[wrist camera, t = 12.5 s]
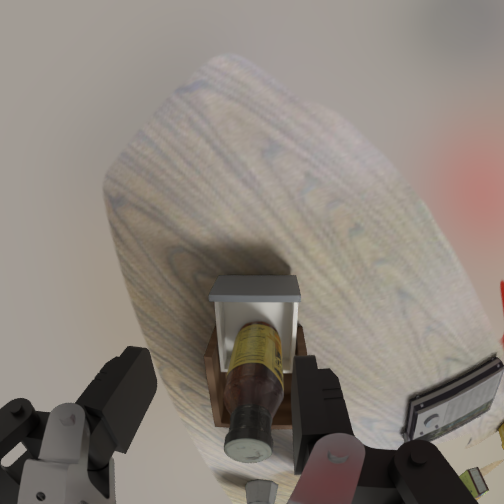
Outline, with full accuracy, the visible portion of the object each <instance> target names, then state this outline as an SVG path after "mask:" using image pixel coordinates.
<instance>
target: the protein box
mask: <svg viewBox="0 0 504 504" xmlns="http://www.w3.org/2000/svg"><path fill="white" fill-rule="evenodd" d="M459 478H460V479H461V480H462V482H463V483H464V484H465V486H466V487H467V488H468V490H469V491H470V492H471V494H472V495H473V497H474V498H475V499H476V500H477V499H479V498H480V497H481V496H483V495H484V494H485V493H486V492H488V491H489V489H488V487H487V485H486V483H485V481H484V479H483V476H482V474H481V472H480V470H479V468H478V467H476V468H472V469H469V470H466V471H465V472H464V473H463V474H461V475H460V476H459Z"/></svg>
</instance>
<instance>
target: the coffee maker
mask: <svg viewBox="0 0 504 504" xmlns="http://www.w3.org/2000/svg"><path fill="white" fill-rule="evenodd" d="M245 489H246V499H247V504H274V502H275V498H276V493H277V489H278V484H276V483H275V482H273V481H269V480H260V479H259V480H254V481H249V482H247V484H246V486H245Z"/></svg>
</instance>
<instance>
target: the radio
mask: <svg viewBox="0 0 504 504" xmlns="http://www.w3.org/2000/svg"><path fill="white" fill-rule="evenodd" d="M503 367H504V365H503V363H502V361H501V360H500V359H499V358H497V357H495V358H492V359H491V360H490V361H488V362H487V363H485V364H483V365H482V366H480V367H478V368H476V369H474V370H473V371H471V372H469V373H467V374H465V375H463V376H461V377H459V378H457V379H456V380H453V381H451V382H449V383H447V384H445V385H443V386H441V387H439V388H437V389H434V390H432V391H430V392H428V393H425V394H423V395H421V396H416V398H413V399H411V400H410V403H409V411H408V418H407V425H406V431H405V433H404V441H405V443H406V442H408V441H411V440H426V441H428V442H431V441H433V440H435V439H437V438H440V437H442V436H444V435H446V434H448V433H450V432H452V431H454V430H456V429H458V428H459V427H461V426H463V425H465V424H467V423H469V422H470V421H472V420H474V419H476V418H479V417H480V416H481V415H482V414H484V413H485V412H487V411H489V410H490V408H491V405H492V403H493V400H494V398H495V395H496V392H497V390H498V387H499V384H500V381H501V378H502V375H503V372H504V368H503Z"/></svg>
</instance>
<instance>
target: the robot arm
mask: <svg viewBox="0 0 504 504" xmlns="http://www.w3.org/2000/svg"><path fill="white" fill-rule="evenodd" d="M156 390H157V378H156V375H155V371H154V367H153V363H152V359H151V355H150V352H149V350H148V349H147V348H142V347H133V346H128V347H127V348H126V349H125V350H124V352H123V353H122V354H121V355H120V357H115V358H113V359H112V360H110V361H108V362H107V363H106V364H105V365H104V367H103V368H102V369H101V370H100V373H98V374H97V375H96V377H95V379H94V380H92V382H91V383H90V384H89V385H88V387H87V388H86V389H85V391H84V392H83V393H82V395H81V396H80V397H79V398H78V400H77V401H76V402H75V403H64V404H61V405H58V406H57V407H55V408H54V409H53V410H52V411H51V412H41V411H35V409H34V407H33V406H32V404H31V402H30V401H29V400H27V399H24V398H17V399H14V400H12V401H10V402H9V403H7V404H6V405H5V406H4V407H2V408H1V409H0V504H116V499H115V498H116V497H115V475H114V474H115V473H114V459H113V458H112V455H113V453H114V451H118V452H121V453H124V454H126V452H127V450H128V448H129V446H130V444H131V442H132V440H133V438H134V436H135V434H136V432H137V430H138V428H139V426H140V423H141V421H142V419H143V417H144V415H145V413H146V411H147V409H148V407H149V405H150V403H151V401H152V399H153V397H154V395H155V393H156ZM291 411H292V430H293V451H294V475H300V474H301V476H300V478H299V480H298V482H297V485H296V487H295V489H294V491H293V492H292V494H291V496H290V498H289V500H288V502H287V504H478V502H477V501H476V499H475V498H474V497H473V495H472V494H471V492H470V491H469V490H468V488H467V487H466V486H465V484H464V483H463V482H462V480H461V479H460V478H459V476H458V475H457V474H456V472H455V471H454V470H453V468H452V467H451V466H450V464H449V463H448V462H447V460H446V459H445V458H444V456H443V455H442V454H441V452H440V451H439V450H438V448H437V447H436V446H435V445H434V444H432V443H430V442H428V441H426V440H411V441H408V442H406V443H404V444H403V445H401V446H400V447H399V448H398V450H385V449H375V448H371V447H368V446H365V445H364V444H362V442H361V441H360V440H359V439H357V438H356V437H355V435H354V433H353V431H352V427H351V423H350V419H349V415H348V411H347V408H346V404H345V400H344V399H343V393H342V390H341V386H340V382H339V379H338V377H337V376H336V375H335V374H334V373H333V372H332V370H331V369H330V368H328V369H318V367H317V362H316V358H315V355H307V356H294V358H293V370H292V383H291ZM19 442H22V444H23V445H24V446H25V448H26V449H27V451H26V452H25V453H24V454H23V455H22V456H20V457H19V458H18V460H16V461H15V462H14V463H13V464H12V465H11V466H9V467H4V466H2V465H1V459H2V458H3V457H4V456H5V455H6V454H7V453H8V452H9V451H11V450H12V449H13V448H14V447H15V446H16V445H17V444H18V443H19Z"/></svg>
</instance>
